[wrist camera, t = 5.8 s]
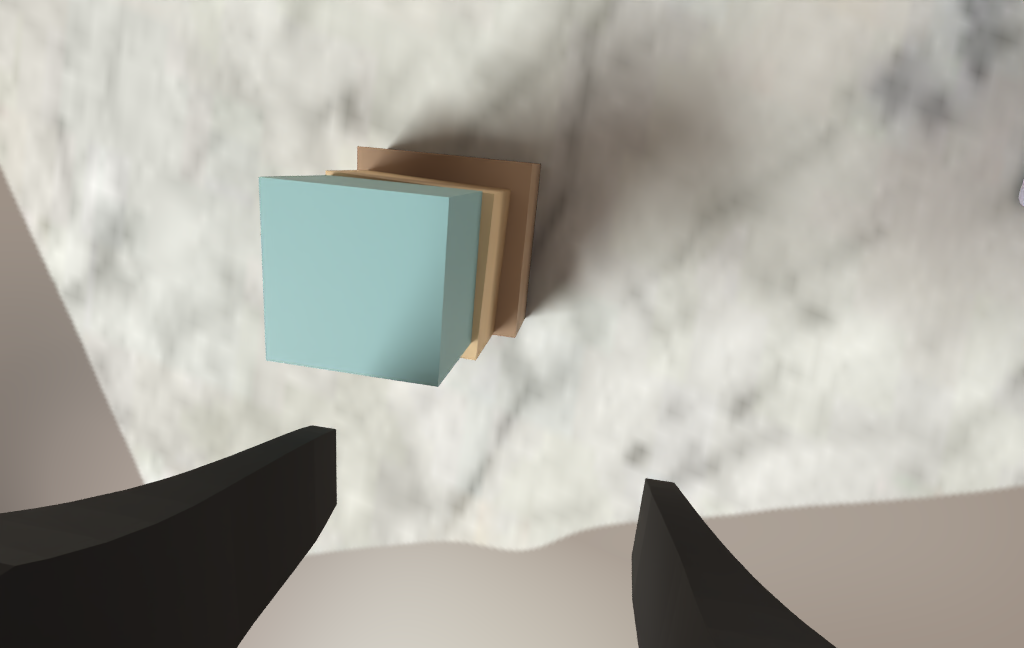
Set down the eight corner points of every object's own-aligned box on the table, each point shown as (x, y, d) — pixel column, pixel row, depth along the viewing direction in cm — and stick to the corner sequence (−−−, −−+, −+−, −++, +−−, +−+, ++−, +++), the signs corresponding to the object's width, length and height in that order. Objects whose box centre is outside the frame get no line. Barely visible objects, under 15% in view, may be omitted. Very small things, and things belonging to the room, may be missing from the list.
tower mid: (511, 189, 18) (494, 193, 15) (493, 332, 19) (475, 360, 17) (367, 170, 19) (325, 170, 16) (361, 309, 20) (322, 333, 17)
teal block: (482, 191, 15) (449, 197, 12) (471, 342, 16) (438, 387, 13) (331, 175, 16) (258, 176, 12) (331, 323, 17) (266, 360, 14)
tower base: (541, 164, 21) (532, 163, 18) (525, 315, 22) (514, 337, 19) (390, 149, 21) (357, 146, 18) (386, 297, 23) (355, 315, 20)
